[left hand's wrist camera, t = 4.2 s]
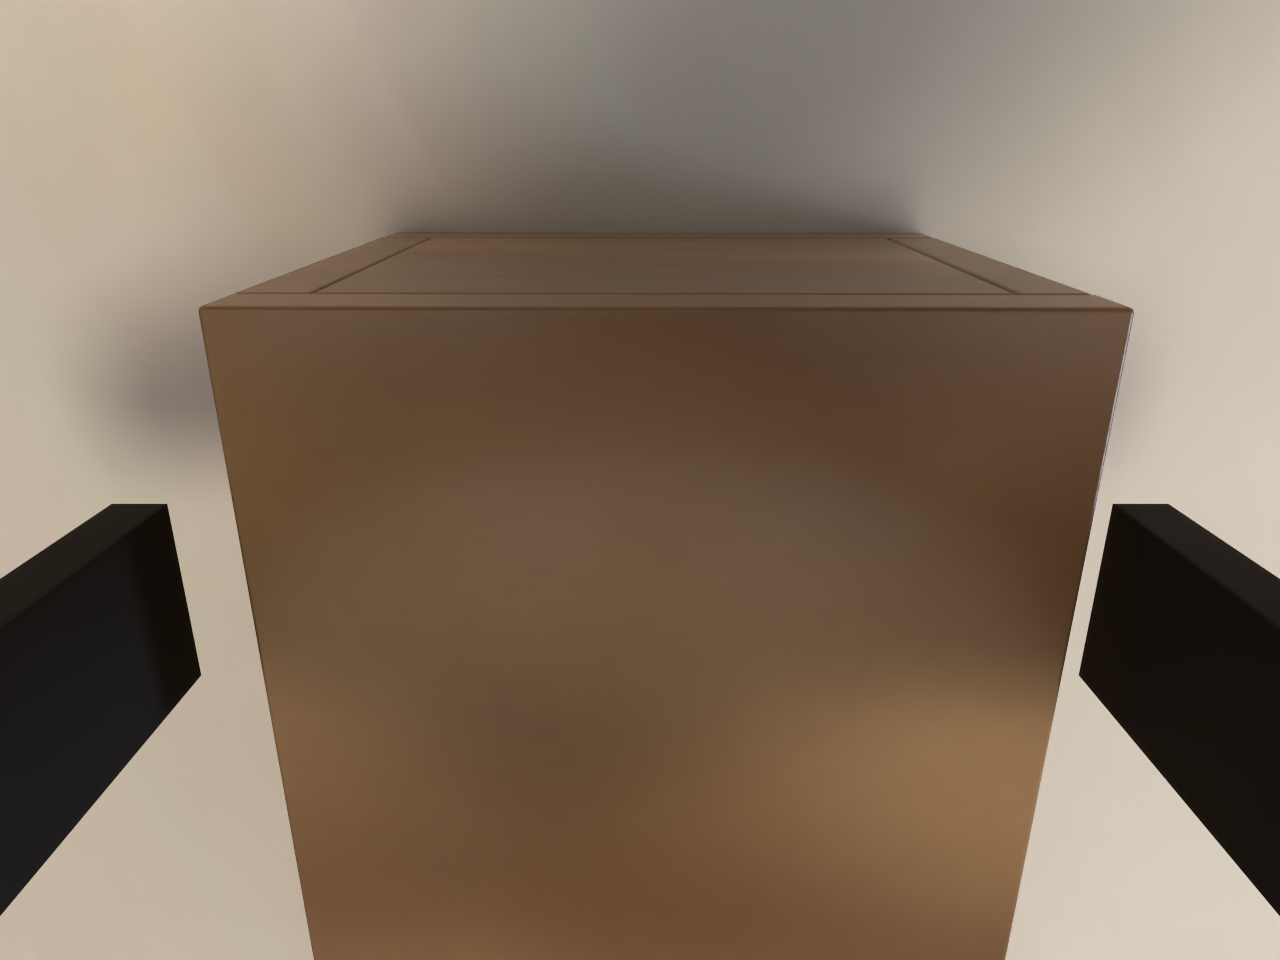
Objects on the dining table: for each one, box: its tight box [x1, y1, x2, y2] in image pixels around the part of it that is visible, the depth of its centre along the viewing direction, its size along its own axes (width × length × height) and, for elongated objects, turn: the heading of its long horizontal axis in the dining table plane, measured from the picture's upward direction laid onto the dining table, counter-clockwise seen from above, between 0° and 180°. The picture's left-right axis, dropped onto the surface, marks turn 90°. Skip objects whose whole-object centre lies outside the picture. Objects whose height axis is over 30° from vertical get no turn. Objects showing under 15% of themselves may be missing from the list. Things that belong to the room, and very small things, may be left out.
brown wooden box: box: [199, 233, 1134, 960], centre depth 17 cm, size 19×10×8 cm, turn 0°
